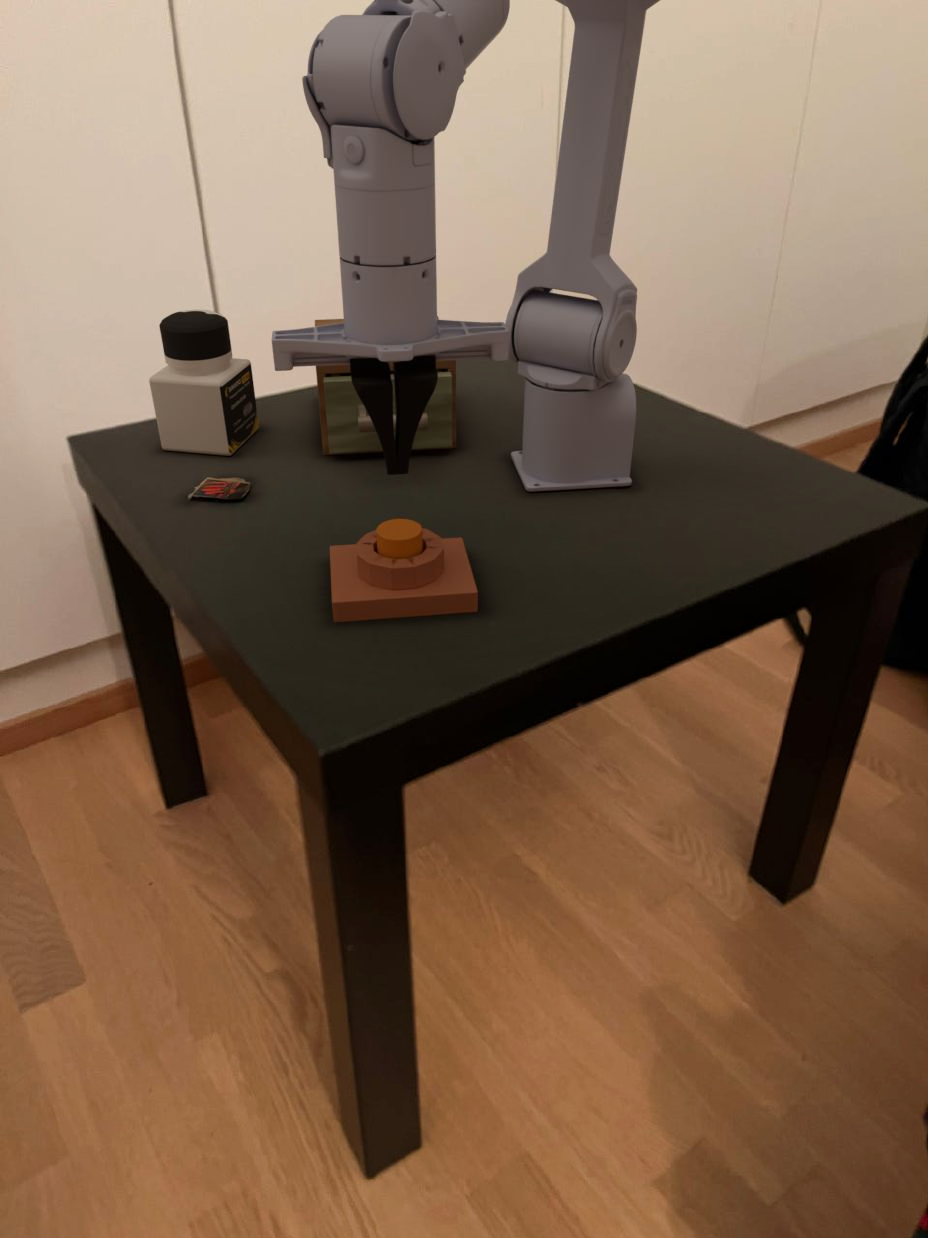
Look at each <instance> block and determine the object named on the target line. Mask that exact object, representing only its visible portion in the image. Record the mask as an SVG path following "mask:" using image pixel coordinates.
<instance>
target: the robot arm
mask: <svg viewBox="0 0 928 1238" xmlns="http://www.w3.org/2000/svg"><path fill="white" fill-rule="evenodd" d="M554 1H556V3H559V4H561V5H563V6H564V7H566V8H567V9H568V11H569V13H570V16H571V18H572V20H573V24H574V31H573V38H572V48H571V53H570V63H569V64H570V65H569V71H568V77H567V87H566V94H565V103H564V111H563V120H562V126H561V135H560V143H559V150H558V151H559V152H558V159H557V167H556V175H555V183H554V190H553V199H552V206H551V207H552V208H551V215H550V223H549V231H548V238H547V239H548V241H547V248H546V252H545V253H544V254H543V255H541V256H540V257H539V258H538V259H536V260H535V261H534V262H532V263H531V264H529V265H528V266H526V267H525V268H524V269H523V270H521V271H520V272H519V273H518V274H517V280H516V284H515V290H514V295H513V299H512V302H511V305H510V306H509V309H508V311H507V314H506V318H505V322H504V321H493V322H492V321H491V322H490V321H466V320H453V319H452V320H450V319H439V320H437V316H438V290H437V289H438V283H437V223H436V222H437V221H436V218H437V215H436V209H437V208H436V151H435V149H436V148H435V145H436V144H435V137H436V136H438V135H439V133H441V132H442V133H443V132H444V131H446V129H447V127H448V125H449V123H450V121H451V120H452V116H453V114H454V109H455V105H456V101H457V94H458V91H459V89H460V88H461V85H462V84H463V83H464V81H465V79H464V77H465V75H466V73H467V69H468V68H469V67H470V66H471V65H472V63H473V62H475V60H476V59H477V58H478V57H479V56H480V55H481V53H483V51H485V49H486V48H487V47H488V46H489V45H490V44H491V43H492V42H493V41H494V40H495V38H497V36H498V35H499V34H500V33H501V32H502V30H503V29H504V28H505V26H506V24H507V21H508V18H509V14H510V6H511V0H373V1H372V2H371V3H370V4H369V5H368V6H367V7H366V8H365V10H364V11H363V13H362V14H340V15H336V16H334V17H333V18H332V19H330V20H329V21H327V23H326V24H325V25H324V27H323V29H321V30H320V32H319V33H318V34H317V35H316V37H315V39H314V40H313V42H312V45H311V47H310V49H309V50H310V51H309V53H308V54H309V55H308V59H307V74H306V75H303V76H302V78H301V80H302V89H303V93H304V98H305V101H306V104H307V107H308V109H309V112H310V114H311V116H312V118H313V119H314V122H315V123H316V124H317V127H318V128H319V131H320V136H321V142H322V154H323V159H326V161H327V163H326V164H327V166H328V167H329V168H331V169H332V170H333V183H334V197H335V211H336V212H335V213H336V228H337V242H338V253H339V254H338V255H339V256H338V257H339V267H340V268H339V269H340V284H341V297H342V298H341V299H342V313H343V319H344V323H338V324H330V325H323V326H316V327H315V326H310V327H309V326H308V327H304V328H303V327H301V328H294V329H283V330H273V331H272V332H271V348H272V356H273V357H272V359H273V365H274V367H273V368H274V371H275V372H286V371H293V369H294V368H296V367H316V366H322V365H346V364H350V371H351V380H352V384H353V386H354V388H355V390H356V393H357V395H358V396H359V398H360V400H361V401H362V403H363V405H364V407H365V409H366V410H367V412H368V414H369V416H370V418H371V421H372V423H373V425H374V427H375V430H376V432H377V435H378V437H379V440H380V443H381V446H382V449H383V452H382V453H383V456H384V457H383V458H384V462H385V463H384V464H385V469H386V474H387V475H388V476H393V475H408V474H409V468H410V459H411V454H412V451H411V450H412V445H413V441H414V438H415V434H416V431H417V428H418V425H419V422H420V420H421V417H422V415H423V412H424V410H425V408H426V406H427V404H428V402H429V400H430V398H431V396H432V394H433V392H434V390H435V387H436V384H437V380H438V372H437V369H436V361H439V360H456V361H460V360H463V361H464V360H482V359H483V360H484V359H490V361H491V362H496V363H497V362H498V363H499V362H508V361H509V360H510V359H511V360H512V362H514V363H516V364H517V375H518V376H521V377H524V394H523V395H524V397H523V421H522V422H523V424H522V448H521V450H515V451H512V452H511V453H510V458H511V460H512V463H513V465H514V468H515V469H516V471H517V473H518V476H519V478H520V480H521V483H522V485H523V487H524V490H526V492H530V493H534V492H549V491H551V492H552V491H566V490H584V489H603V488H617V487H629V486H631V485H632V484H633V480H632V478H631V477H630V476H631V470H632V469H631V467H632V458H633V450H634V441H635V430H636V421H637V395H636V389H635V385H634V382H633V379H632V378H631V376H630V375H629V374H627V373H624V372H625V371H626V370H627V368H628V366H629V364H630V362H631V360H632V357H633V355H634V354H633V353H634V351H635V348H636V344H637V343H636V342H637V334H638V327H637V326H638V325H637V318H636V317H637V315H636V314H637V313H636V312H637V303H638V302H637V301H638V288H637V286H636V285H635V284H634V282H633V281H632V280H631V278H630V277H629V276H628V275H627V274H626V273H625V272H624V271H623V269H622V268H621V267H619V265H618V264H617V263H616V262H615V260H614V259H613V258H612V256H611V247H612V241H613V235H614V228H615V222H616V214H617V209H618V208H617V207H618V202H619V196H620V195H619V194H620V187H621V181H622V175H623V168H624V161H625V155H626V149H627V142H628V136H629V128H630V123H631V115H632V108H633V103H634V98H635V97H634V96H635V91H636V90H635V88H636V83H637V77H638V76H637V75H638V69H639V64H640V56H641V50H642V43H643V37H644V31H645V24H646V16H647V10H649V9H650V8H651V7H653V6H655V5H656V4H657V3H659V2H660V1H661V0H554ZM552 290H558V291H564V292H568V293H575V294H581V295H587V296H590V297H593V298H595V299H593V298H587V297H580V296H575V295H570V294H569V295H568V294H563V293H557V292H556V293H555V292H552ZM389 363H393V369H394V385H395V403H396V427H395V438H394V428H393V385H392V381H391V371H390V367H389Z"/></svg>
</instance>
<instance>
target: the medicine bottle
mask: <svg viewBox="0 0 928 1238" xmlns="http://www.w3.org/2000/svg"><path fill="white" fill-rule="evenodd" d="M158 328H159V332H160V338H161V344H162V349H163V355H164V360H165V361H164V362H165V363H166V366H165V367H163V368H162V369H160V370H159V371H158V372H156V373H154V374H152V376H150V377H149V379H148V381H149V388H150V392H151V393H150V394H151V398H152V405H153V408H154V413H155V419H156V424H157V429H158V435H159V440H160V446H161V448H162V450H164V451H169V452H181V453H191V454H192V453H193V454H201V455H202V454H204V455H214V456H215V455H216V456H226V457H227V456H228V457H229V456H232V455H233V454H234V453H235V452H236V451H237V450H238V449H239V448H241V446H242V445H243V444H244V443H245V442H246V441H248V440H249V438H251V437H252V436H253V435H254V434H255V433H256V432H257V431H258V430H259V428H260V427H259V426H260V424H259V416H258V409H257V401H256V400H257V399H256V393H255V385H254V377H253V376H254V375H253V369H252V362H251V360H250V359H247V358H237V357H236V358H235V357H233V350H232V342H231V334H230V329H229V320H228V319H227V318H226V316H224V315H223V314H221V313H218V312H215V311H213V310H209V309H186V310H180V311H177V312H173V313H171V314H169V315H167V316H166V317H164V318H162V319H161V321H160V323H159V327H158Z"/></svg>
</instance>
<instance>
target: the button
mask: <svg viewBox="0 0 928 1238" xmlns="http://www.w3.org/2000/svg"><path fill="white" fill-rule="evenodd" d="M422 528H423V527H422V525H421V524H420V523H419V522H417V521H415V520H412V519H410V518H409V519H408V518H392V519H388V520H385V521H383V522H381V523H380V524H379V525H378V526H377V527H376V529H375V530H376V534H377V551H378V554H379V555H380V556H381V557H386V558H391V559H409V558H412V557H415V556H417V555H420V554H421V553H422V551H423V543H422Z"/></svg>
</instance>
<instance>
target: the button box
mask: <svg viewBox="0 0 928 1238" xmlns="http://www.w3.org/2000/svg"><path fill="white" fill-rule="evenodd" d="M422 543H423V551H422V553H421V554H420V555H417V556H415V557H412V558H409V559H391V558H386V557H381V556H380V555H379V554H378V551H377V534H376V529H375V530H372V531H369V532H367V533H365V534H364V535H363V536H362V537H361V538H360V539H359V540H358V541H357V542H356V543H353V544H340V545H339V544H338V545H330V546H329V564H330V566H329V567H330V588H331V591H330V592H331V607H332V618H333V619H332V620H333V623H347V622H348V623H349V622H359V621H360V622H362V621H373V620H375V621H377V620H386V619H388V620H389V619H400V618H401V619H403V618H413V617H415V618H416V617H428V616H442V615H451V614H452V615H454V614H456V615H457V614H468V613H478V611H479V591H478V588H477V587H478V586H477V584H476V581H475V577H474V573H473V569H472V566H471V564H470V560H469V557H468V552H467V550H466V546H465V543H464V539H463V537H461V536H460V537H446V538H445V537H444V538H442V537H441V536H439V535H438V534H437V533H435V532H433V531H432V530H430V529H428V528H423V527H422Z"/></svg>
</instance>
